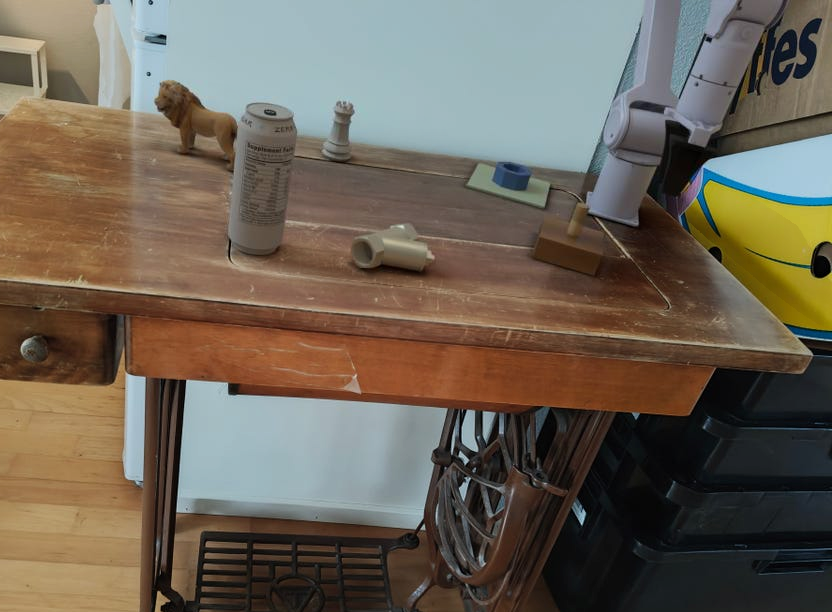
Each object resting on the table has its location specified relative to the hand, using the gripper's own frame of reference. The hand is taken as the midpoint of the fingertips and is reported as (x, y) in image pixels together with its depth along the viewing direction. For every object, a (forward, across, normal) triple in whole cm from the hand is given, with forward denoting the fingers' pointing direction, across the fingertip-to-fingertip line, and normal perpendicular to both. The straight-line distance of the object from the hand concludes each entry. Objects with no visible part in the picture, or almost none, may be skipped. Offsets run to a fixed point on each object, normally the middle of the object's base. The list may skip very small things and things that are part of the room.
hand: (667, 185), depth 96 cm
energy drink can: (+10, +33, -44) cm, 56 cm away
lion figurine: (+10, +13, -61) cm, 63 cm away
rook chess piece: (+10, -2, -46) cm, 47 cm away
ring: (+9, -11, -20) cm, 25 cm away
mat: (+9, -11, -20) cm, 25 cm away
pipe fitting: (+10, +28, -29) cm, 41 cm away
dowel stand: (+9, +10, -10) cm, 17 cm away
